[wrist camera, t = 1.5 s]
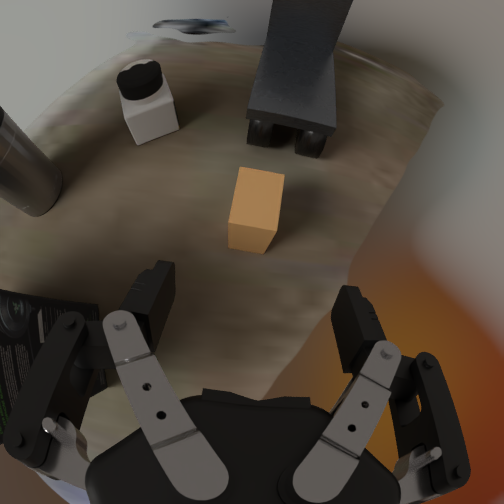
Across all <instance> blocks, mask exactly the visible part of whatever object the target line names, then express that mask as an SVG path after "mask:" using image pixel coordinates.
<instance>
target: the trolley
mask: <svg viewBox="0 0 504 504" xmlns="http://www.w3.org/2000/svg"><path fill="white" fill-rule="evenodd" d="M352 2H353V0H273V3H272V9H271V15H270V20H269V26H268V32H267V38H266V41H265V45H264V48H263V51H262V55H261V58H260V62H259V66H258V69H257V73H256V77H255V80H254V84H253V88H252V92H251V96H250V99H249V103H248V107H247V115H246V119H250V123H249V129H248V135H247V144H249V145H255V146H261V147H266V148H268V147H269V143H270V139H271V134H272V130H273V125H274V124H279V125H284V126H289V127H293V128H297V133H296V139H295V153H296V154H300V155H304V156H308V157H313V158H318V157H319V156H320V154H321V152H322V150H323V148H324V145H325V142H326V138H327V136H330V137H332V135H333V133H334V131H335V129H336V93H335V73H334V59H333V50H334V47H335V45H336V42H337V40H338V37H339V35H340V32H341V30H342V27H343V25H344V22H345V20H346V17H347V15H348V12H349V9H350V7H351V4H352Z"/></svg>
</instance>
